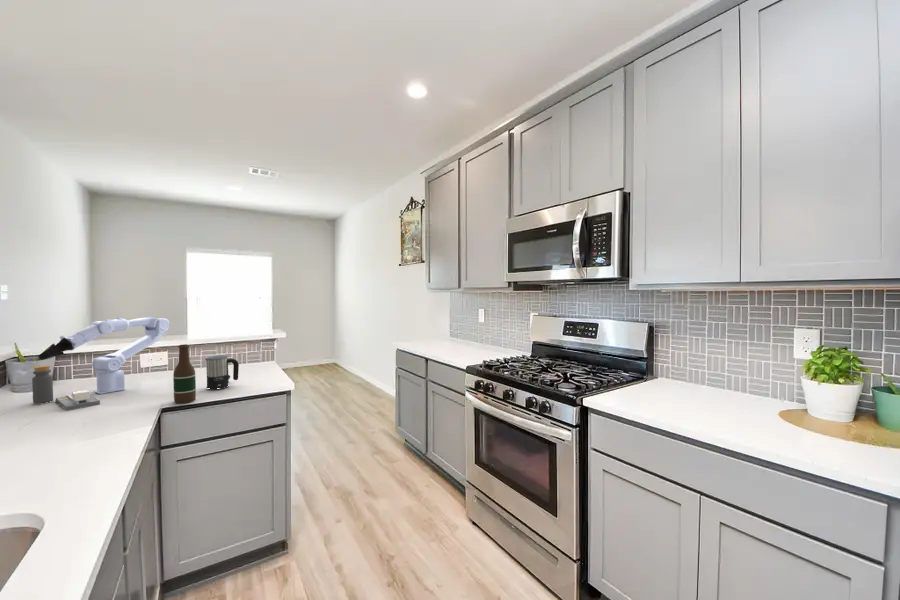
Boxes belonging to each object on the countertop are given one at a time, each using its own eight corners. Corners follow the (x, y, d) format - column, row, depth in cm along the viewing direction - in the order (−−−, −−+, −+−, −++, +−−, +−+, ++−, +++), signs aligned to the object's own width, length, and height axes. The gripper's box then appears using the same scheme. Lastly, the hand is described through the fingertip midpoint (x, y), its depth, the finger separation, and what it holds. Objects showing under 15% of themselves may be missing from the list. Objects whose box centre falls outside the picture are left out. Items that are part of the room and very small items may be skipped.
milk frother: (212, 391, 181) (211, 359, 180) (194, 386, 189) (194, 356, 188) (242, 385, 193) (241, 355, 192) (224, 380, 201) (224, 351, 201)
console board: (87, 395, 172) (87, 390, 172) (99, 404, 161) (99, 398, 161) (55, 401, 164) (55, 396, 164) (66, 410, 153) (66, 404, 153)
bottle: (40, 404, 160) (38, 368, 159) (29, 403, 161) (27, 367, 161) (57, 400, 166) (55, 365, 165) (46, 399, 167) (45, 364, 166)
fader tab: (87, 398, 162) (86, 389, 162) (89, 400, 160) (89, 391, 160) (72, 401, 159) (72, 392, 158) (75, 403, 156) (74, 393, 156)
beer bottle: (200, 399, 168) (199, 344, 167) (182, 404, 161) (181, 346, 160) (187, 397, 171) (185, 343, 170) (169, 402, 164) (167, 345, 163)
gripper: (65, 334, 171) (28, 352, 160) (81, 325, 165) (44, 343, 154) (77, 347, 174) (41, 365, 162) (93, 339, 168) (57, 357, 156)
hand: (43, 355), depth 158 cm, fingers open, 7 cm apart
